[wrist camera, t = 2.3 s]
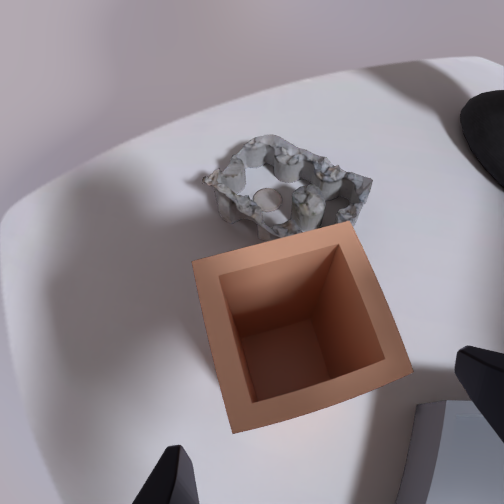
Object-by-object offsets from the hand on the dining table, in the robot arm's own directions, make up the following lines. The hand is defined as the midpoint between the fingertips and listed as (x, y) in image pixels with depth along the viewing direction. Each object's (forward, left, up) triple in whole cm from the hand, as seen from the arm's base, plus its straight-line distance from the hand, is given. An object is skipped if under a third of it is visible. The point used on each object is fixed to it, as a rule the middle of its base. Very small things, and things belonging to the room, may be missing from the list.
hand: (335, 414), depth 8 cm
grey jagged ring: (+14, +4, -11) cm, 18 cm away
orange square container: (+3, +2, -10) cm, 11 cm away
